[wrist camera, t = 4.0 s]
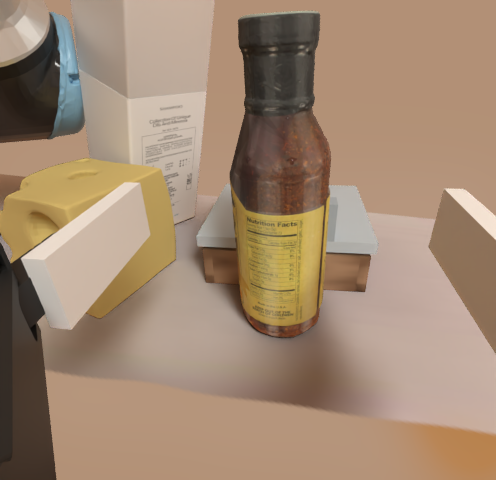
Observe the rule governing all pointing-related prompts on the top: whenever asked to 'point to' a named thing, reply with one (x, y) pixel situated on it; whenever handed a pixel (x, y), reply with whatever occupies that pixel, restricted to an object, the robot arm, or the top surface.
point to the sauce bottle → (280, 176)
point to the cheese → (81, 199)
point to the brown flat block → (335, 278)
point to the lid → (339, 223)
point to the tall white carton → (146, 86)
